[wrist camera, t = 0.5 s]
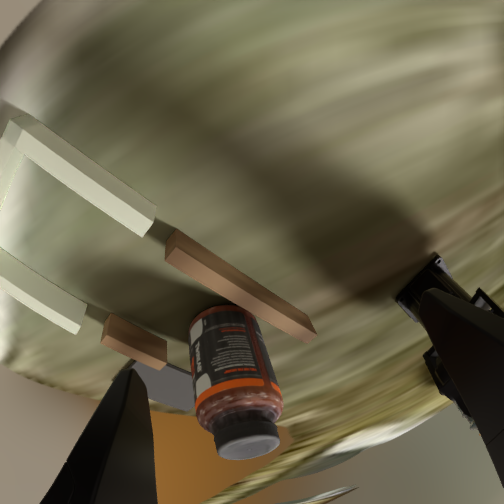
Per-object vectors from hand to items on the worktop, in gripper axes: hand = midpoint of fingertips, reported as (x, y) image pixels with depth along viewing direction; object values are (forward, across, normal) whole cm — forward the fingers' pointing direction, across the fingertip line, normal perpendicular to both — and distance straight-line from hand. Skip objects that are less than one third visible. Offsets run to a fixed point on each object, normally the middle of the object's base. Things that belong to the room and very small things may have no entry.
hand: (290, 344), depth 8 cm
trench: (+13, +4, +10) cm, 17 cm away
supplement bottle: (+14, +3, +12) cm, 18 cm away
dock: (+13, +13, -1) cm, 18 cm away
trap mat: (+13, +10, +18) cm, 24 cm away
